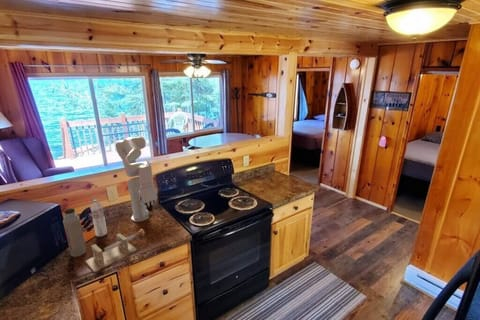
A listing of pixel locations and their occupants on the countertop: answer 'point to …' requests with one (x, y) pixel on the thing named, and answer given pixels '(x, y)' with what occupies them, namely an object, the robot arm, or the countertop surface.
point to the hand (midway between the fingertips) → (150, 210)
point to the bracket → (109, 254)
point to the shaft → (141, 232)
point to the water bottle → (98, 219)
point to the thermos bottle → (74, 233)
